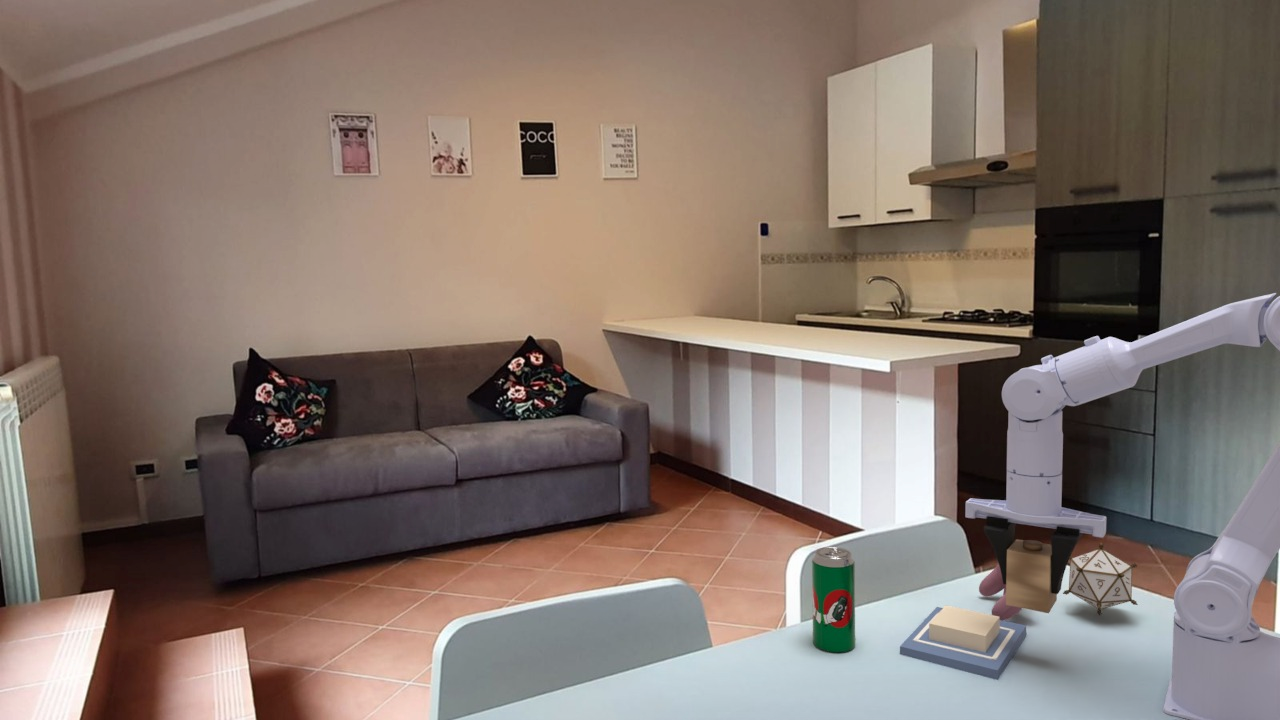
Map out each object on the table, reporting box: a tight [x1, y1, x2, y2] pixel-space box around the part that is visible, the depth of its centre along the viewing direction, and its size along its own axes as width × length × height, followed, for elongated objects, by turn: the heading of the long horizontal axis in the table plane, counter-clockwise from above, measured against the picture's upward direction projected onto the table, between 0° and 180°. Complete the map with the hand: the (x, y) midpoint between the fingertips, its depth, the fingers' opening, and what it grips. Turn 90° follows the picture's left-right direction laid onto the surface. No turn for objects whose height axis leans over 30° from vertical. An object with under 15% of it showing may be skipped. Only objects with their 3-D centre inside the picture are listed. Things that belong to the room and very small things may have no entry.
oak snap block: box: [1006, 538, 1058, 614], centre depth 96 cm, size 4×4×7 cm
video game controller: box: [978, 563, 1023, 621], centre depth 110 cm, size 10×5×7 cm, turn 168°
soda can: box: [811, 546, 856, 654], centre depth 101 cm, size 5×5×12 cm
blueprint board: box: [899, 605, 1027, 680], centre depth 101 cm, size 11×14×3 cm
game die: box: [1062, 541, 1139, 617], centre depth 108 cm, size 9×8×10 cm
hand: (1031, 586), depth 96 cm, fingers closed on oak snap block, 4 cm apart
